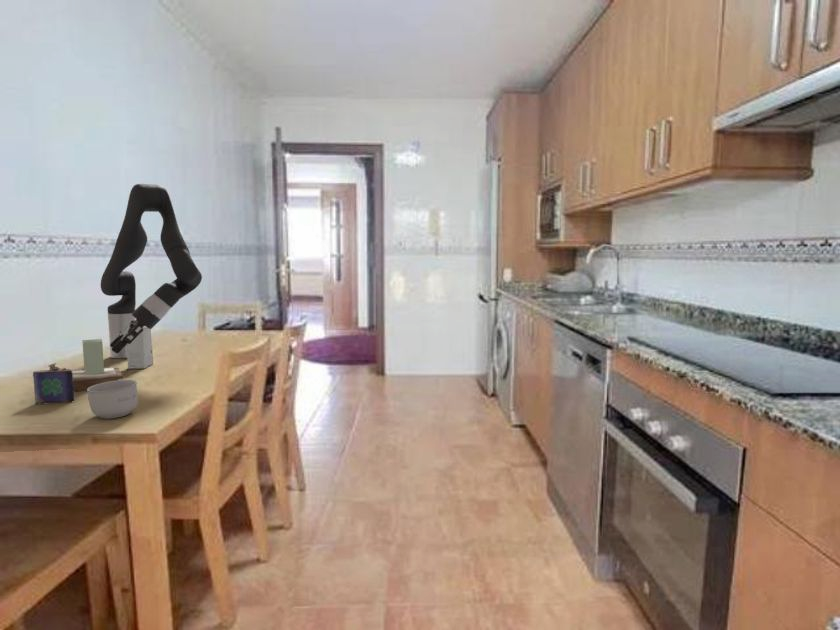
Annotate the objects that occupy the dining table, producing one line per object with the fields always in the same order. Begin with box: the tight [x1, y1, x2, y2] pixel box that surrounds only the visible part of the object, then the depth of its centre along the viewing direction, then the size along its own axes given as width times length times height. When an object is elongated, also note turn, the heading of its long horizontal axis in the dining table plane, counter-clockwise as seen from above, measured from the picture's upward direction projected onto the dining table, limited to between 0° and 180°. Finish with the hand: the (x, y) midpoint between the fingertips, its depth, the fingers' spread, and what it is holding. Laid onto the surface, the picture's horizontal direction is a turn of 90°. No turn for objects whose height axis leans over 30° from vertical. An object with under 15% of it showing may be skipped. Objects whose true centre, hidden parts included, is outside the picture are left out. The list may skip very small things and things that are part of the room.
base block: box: [71, 366, 124, 392], centre depth 160 cm, size 14×14×4 cm
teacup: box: [86, 378, 139, 420], centre depth 131 cm, size 14×11×8 cm
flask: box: [32, 362, 75, 404], centre depth 140 cm, size 9×3×11 cm, turn 102°
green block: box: [82, 338, 105, 375], centre depth 159 cm, size 5×5×10 cm
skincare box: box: [126, 326, 154, 370], centre depth 184 cm, size 8×6×15 cm
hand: (113, 349), depth 162 cm, fingers open, 8 cm apart
